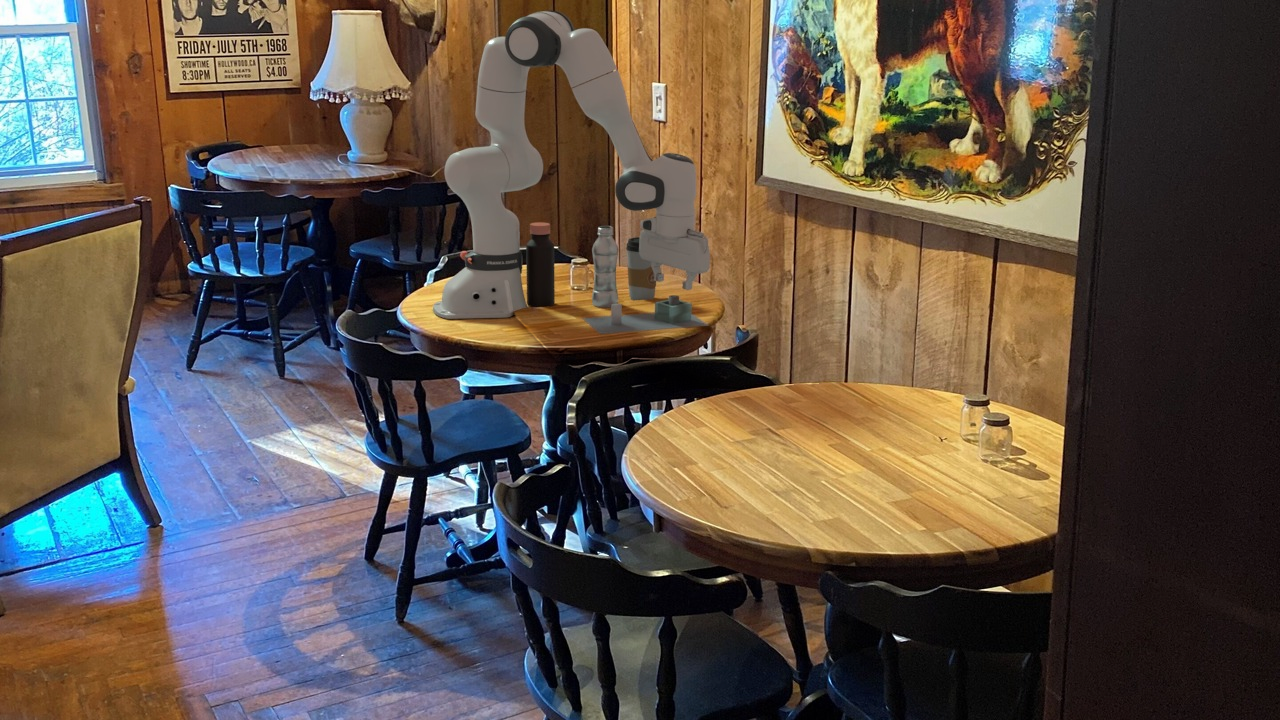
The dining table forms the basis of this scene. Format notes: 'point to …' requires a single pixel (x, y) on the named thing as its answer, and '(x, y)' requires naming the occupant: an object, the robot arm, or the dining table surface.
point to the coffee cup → (639, 273)
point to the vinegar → (540, 266)
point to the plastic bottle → (605, 268)
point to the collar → (673, 312)
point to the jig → (637, 321)
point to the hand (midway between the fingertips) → (672, 285)
